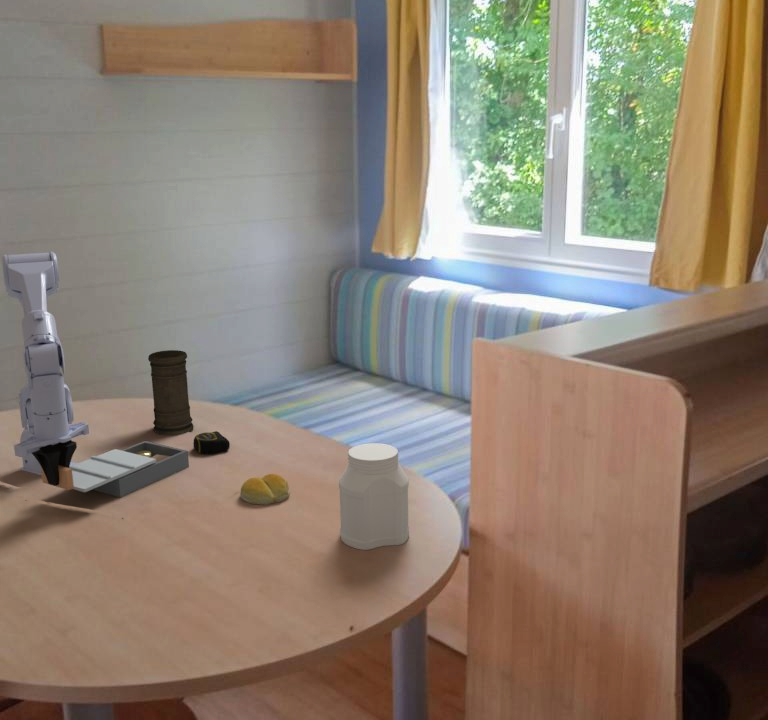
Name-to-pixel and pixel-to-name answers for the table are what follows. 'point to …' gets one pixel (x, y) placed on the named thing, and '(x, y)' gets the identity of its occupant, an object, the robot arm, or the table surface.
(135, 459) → the lid
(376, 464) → the jar
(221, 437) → the tape measure
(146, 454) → the brass knob
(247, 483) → the bread roll
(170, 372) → the container
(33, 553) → the table surface
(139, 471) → the tub
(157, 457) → the walnut block
